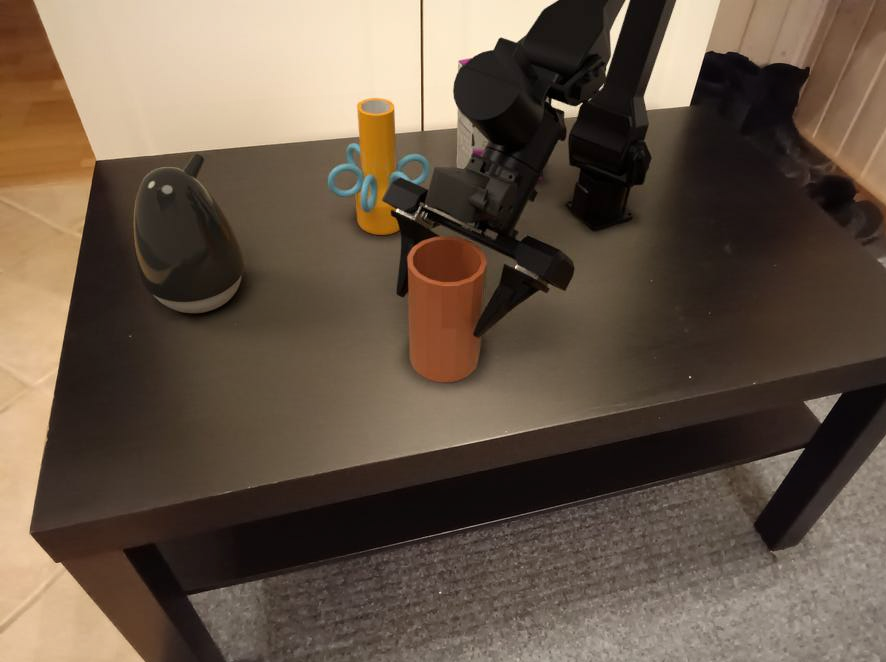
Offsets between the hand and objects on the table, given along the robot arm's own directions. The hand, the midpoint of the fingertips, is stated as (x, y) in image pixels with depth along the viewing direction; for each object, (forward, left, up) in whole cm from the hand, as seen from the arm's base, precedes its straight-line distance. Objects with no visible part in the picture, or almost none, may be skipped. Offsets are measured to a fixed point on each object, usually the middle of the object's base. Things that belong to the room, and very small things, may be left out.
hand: (437, 315), depth 66 cm
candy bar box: (-23, -27, -7) cm, 36 cm away
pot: (-1, -1, -7) cm, 7 cm away
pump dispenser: (+18, -21, -7) cm, 28 cm away
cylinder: (-5, -25, -7) cm, 26 cm away
